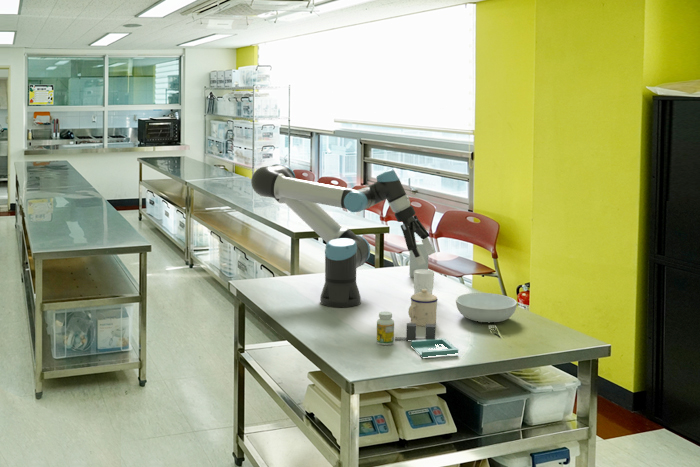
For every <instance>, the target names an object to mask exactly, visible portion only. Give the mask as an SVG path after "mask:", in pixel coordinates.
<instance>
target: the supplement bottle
mask: <svg viewBox="0 0 700 467" xmlns="http://www.w3.org/2000/svg"><path fill="white" fill-rule="evenodd" d="M378 317H379V318H378V319H377V321H376V343H377V344H378V345H380V346H391V344H392V345H393V344H394V343H395V321H394V319H392V318H393V313H392V312H390V311H380V312H379V313H378Z"/></svg>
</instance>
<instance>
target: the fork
mask: <svg viewBox="0 0 700 467" xmlns="http://www.w3.org/2000/svg"><path fill="white" fill-rule="evenodd" d="M491 328H495V329H496V328H497V329H498V327H497V326H496V325H495V324H494V325H493V324H492V325H491V324H490V325H488V330H489V329H491Z"/></svg>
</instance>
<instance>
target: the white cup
mask: <svg viewBox="0 0 700 467" xmlns="http://www.w3.org/2000/svg"><path fill="white" fill-rule="evenodd" d="M434 277H435V271H434V270H431V269H428V270H426V269H419V270H415V271H414V277H413V290H414V294H417V293H419V292H421V290H422V289H426V290H427V292H429V293H430V294H432V295H433V290H434V280H435V278H434ZM414 294H413V295H414Z"/></svg>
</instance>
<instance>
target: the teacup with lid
mask: <svg viewBox="0 0 700 467" xmlns="http://www.w3.org/2000/svg"><path fill="white" fill-rule="evenodd" d="M410 300H411V301H410V304H411V305H410V306H409V307H408V316H409V318H410V323H416V326H419V327H426V324H435V325H436V323H437V309H438V308H437V305H438V304H437V302H438V297H437V295H435V294H433V293H432V294H430V293H429V292H427V290H426V289H422V290H421V292H419V293H417V294H412V295H411V296H410Z"/></svg>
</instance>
